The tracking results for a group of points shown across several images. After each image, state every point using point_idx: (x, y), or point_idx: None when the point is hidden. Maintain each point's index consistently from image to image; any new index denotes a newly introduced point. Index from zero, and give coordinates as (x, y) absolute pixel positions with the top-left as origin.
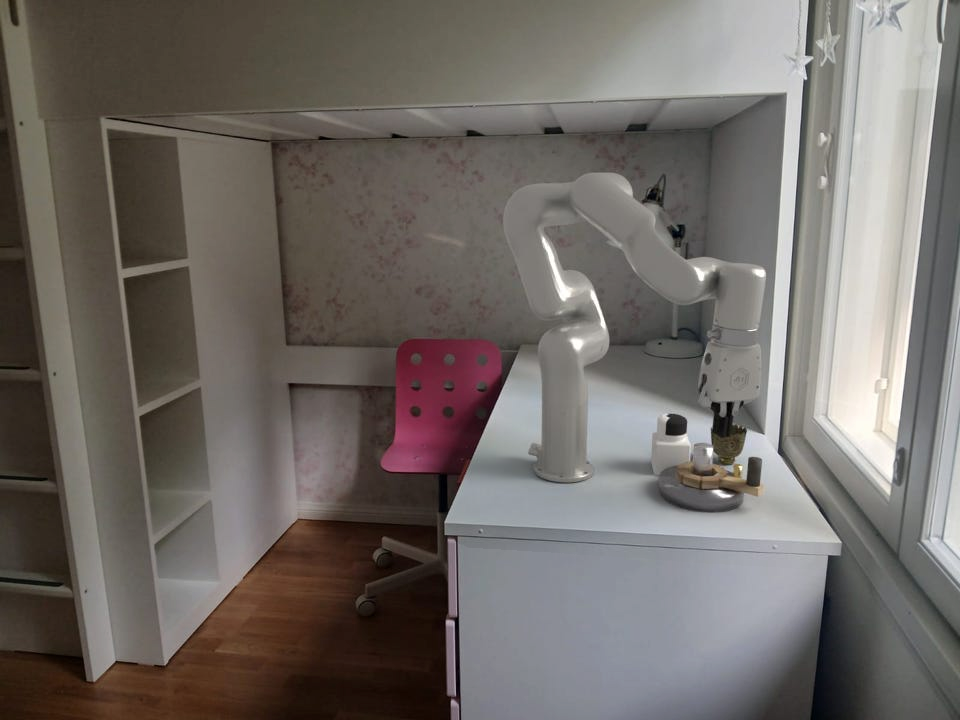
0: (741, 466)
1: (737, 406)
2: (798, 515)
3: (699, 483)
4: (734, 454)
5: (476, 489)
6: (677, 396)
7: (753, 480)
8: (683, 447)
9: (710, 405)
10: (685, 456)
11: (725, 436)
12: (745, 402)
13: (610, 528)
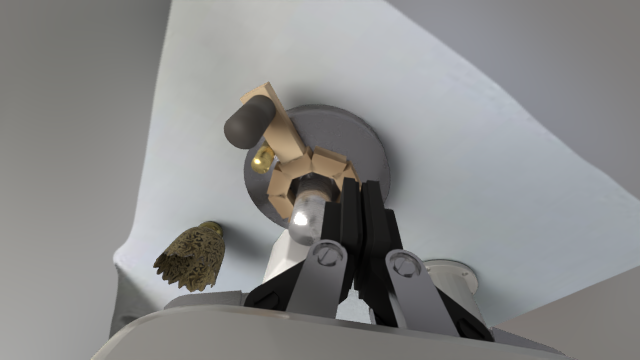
0: (256, 159)
1: (309, 285)
2: (202, 26)
3: (348, 165)
4: (201, 229)
5: (566, 288)
6: None
7: (266, 103)
8: (296, 259)
9: (497, 340)
10: (295, 244)
11: (367, 180)
12: (227, 300)
13: (548, 138)
